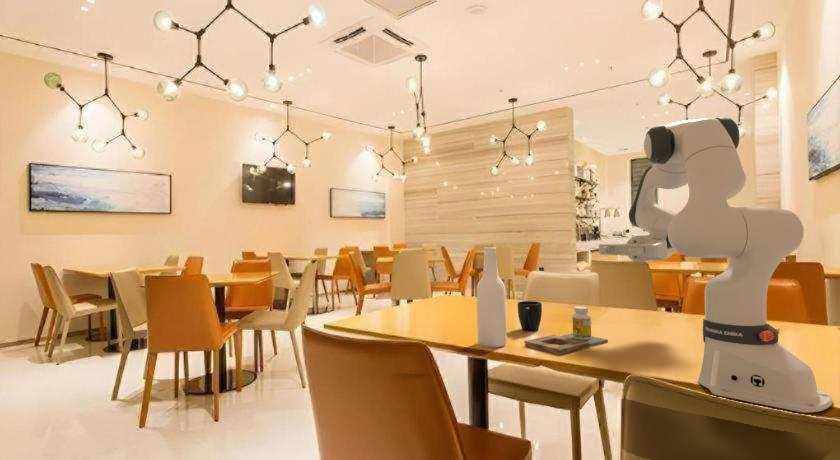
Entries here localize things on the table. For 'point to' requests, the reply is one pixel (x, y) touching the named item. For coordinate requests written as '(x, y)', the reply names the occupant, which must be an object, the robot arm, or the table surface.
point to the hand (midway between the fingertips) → (616, 250)
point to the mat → (592, 341)
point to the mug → (530, 315)
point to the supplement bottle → (581, 324)
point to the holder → (565, 348)
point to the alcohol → (491, 304)
